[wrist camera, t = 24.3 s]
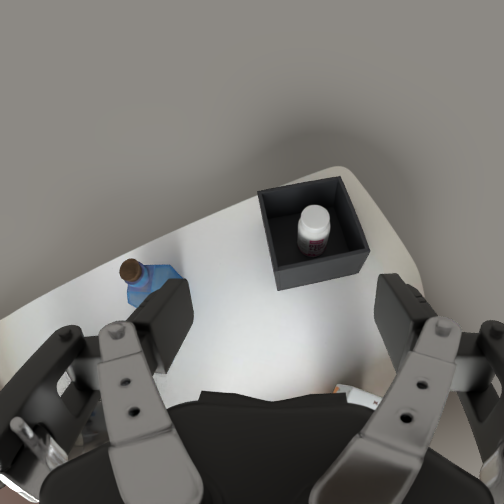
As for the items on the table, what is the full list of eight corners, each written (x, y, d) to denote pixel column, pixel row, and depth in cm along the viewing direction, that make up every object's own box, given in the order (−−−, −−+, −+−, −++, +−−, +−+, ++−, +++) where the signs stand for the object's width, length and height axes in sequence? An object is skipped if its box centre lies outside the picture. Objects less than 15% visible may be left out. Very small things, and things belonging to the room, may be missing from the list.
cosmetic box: (336, 382, 36) (353, 384, 25) (361, 393, 35) (387, 397, 24) (316, 419, 34) (326, 435, 23) (342, 429, 33) (360, 448, 22)
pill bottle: (309, 263, 44) (312, 238, 36) (291, 242, 46) (290, 213, 38) (332, 246, 44) (339, 219, 37) (314, 226, 47) (317, 196, 39)
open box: (277, 291, 43) (274, 272, 36) (262, 219, 49) (257, 191, 42) (358, 273, 43) (370, 251, 35) (335, 205, 48) (340, 175, 41)
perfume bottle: (184, 279, 46) (153, 247, 36) (179, 315, 44) (145, 292, 33) (151, 278, 47) (115, 248, 36) (146, 313, 45) (106, 290, 34)
